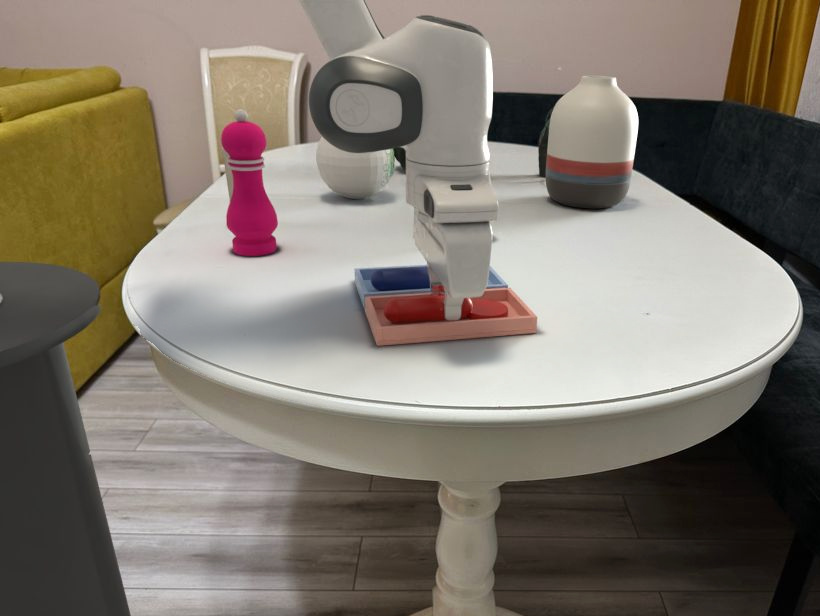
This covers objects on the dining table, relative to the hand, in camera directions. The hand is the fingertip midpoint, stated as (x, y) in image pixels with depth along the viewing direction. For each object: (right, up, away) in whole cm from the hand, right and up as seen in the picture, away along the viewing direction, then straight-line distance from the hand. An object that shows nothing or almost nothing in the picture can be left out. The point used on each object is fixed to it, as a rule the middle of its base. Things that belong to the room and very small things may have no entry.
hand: (444, 307), depth 78 cm
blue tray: (-2, +3, +10) cm, 11 cm away
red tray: (0, -2, +1) cm, 2 cm away
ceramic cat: (+29, +36, +82) cm, 94 cm away
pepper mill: (-29, +10, +23) cm, 39 cm away
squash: (-8, +38, +84) cm, 93 cm away
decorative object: (-19, +25, +56) cm, 64 cm away
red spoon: (+1, -1, +1) cm, 2 cm away
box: (-34, +16, +36) cm, 52 cm away
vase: (+27, +25, +59) cm, 70 cm away
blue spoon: (-2, +3, +10) cm, 11 cm away
